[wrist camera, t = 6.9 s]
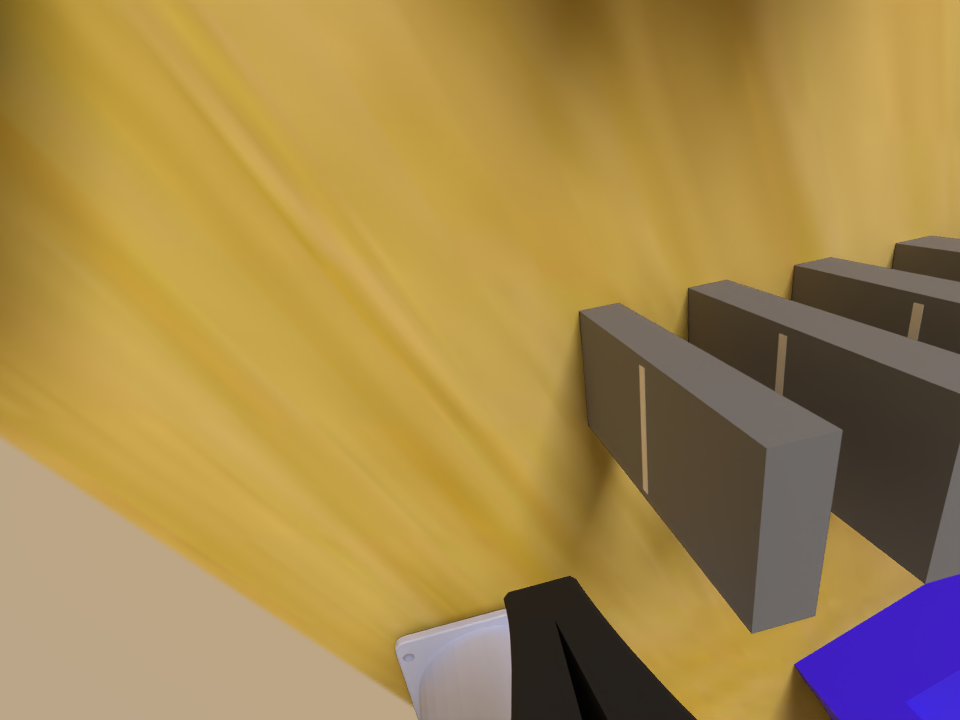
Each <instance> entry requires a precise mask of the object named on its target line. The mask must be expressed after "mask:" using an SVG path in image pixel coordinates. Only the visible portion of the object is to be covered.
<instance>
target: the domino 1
mask: <svg viewBox="0 0 960 720" xmlns="http://www.w3.org/2000/svg"><path fill="white" fill-rule="evenodd" d="M579 314H580V326H581V339H582V351H583V364H584V376H585V389H586V401H587V414H588V425H589V427H590V428H591V429H592V431H593V432H594V433H595V434H596V436H597V437H598V438H599V439H600V441H601V442H602V443H603V445H604V446H605V447H606V448H607V450H608V451H609V452H610V454H611V455H612V456H613V457H614V459H615V460H616V461H617V462H618V464H619V465H620V466H621V468H622V469H623V470H624V471H625V473H626V474H627V475H628V477H629V478H630V479H631V480H632V482H633V483H634V484H635V485H636V487H637V488H638V489H639V491H640V492H641V493H642V494H643V496H644V497H645V498H646V500H647V501H648V502H649V503H650V505H651V506H652V507H653V508H654V510H655V511H656V512H657V514H658V515H659V516H660V517H661V519H662V520H663V521H664V523H665V524H666V525H667V526H668V528H669V529H670V530H671V531H672V533H673V534H674V535H675V537H676V538H677V539H678V540H679V542H680V543H681V544H682V546H683V547H684V548H685V549H686V551H687V552H688V553H689V554H690V556H691V557H692V558H693V560H694V561H695V562H696V563H697V565H698V566H699V567H700V569H701V570H702V571H703V572H704V574H705V575H706V576H707V577H708V579H709V580H710V581H711V583H712V584H713V585H714V586H715V588H716V589H717V590H718V591H719V593H720V594H721V595H722V597H723V598H724V599H725V600H726V602H727V603H728V604H729V606H730V607H731V608H732V609H733V611H734V612H735V613H736V614H737V616H738V617H739V618H740V620H741V621H742V622H743V623H744V625H745V626H746V627H747V629H748V630H749V631H750V632H751V634H753V633H756V632H760V631H763V630H767V629H771V628H774V627H778V626H781V625H785V624H788V623H792V622H795V621H799V620H802V619H806V618H809V617H813V616H815V614H816V607H817V600H818V594H819V587H820V580H821V574H822V567H823V560H824V553H825V547H826V540H827V533H828V526H829V520H830V513H831V506H832V499H833V493H834V486H835V479H836V473H837V466H838V459H839V452H840V446H841V439H842V432H843V430H842V429H840V428H838V427H837V426H835V425H833V424H831V423H830V422H828V421H826V420H824V419H823V418H821V417H819V416H817V415H815V414H814V413H812V412H810V411H808V410H807V409H805V408H803V407H801V406H800V405H798V404H796V403H794V402H793V401H791V400H789V399H787V398H786V397H784V396H782V395H780V394H779V393H777V392H775V391H773V390H772V389H770V388H768V387H766V386H765V385H763V384H761V383H759V382H757V381H756V380H754V379H752V378H750V377H749V376H747V375H745V374H743V373H742V372H740V371H738V370H736V369H735V368H733V367H731V366H729V365H728V364H726V363H724V362H722V361H721V360H719V359H717V358H715V357H714V356H712V355H710V354H708V353H707V352H705V351H703V350H701V349H699V348H698V347H696V346H694V345H692V344H691V343H689V342H687V341H685V340H684V339H682V338H680V337H678V336H677V335H675V334H673V333H671V332H670V331H668V330H666V329H664V328H663V327H661V326H659V325H657V324H656V323H654V322H652V321H650V320H649V319H647V318H645V317H643V316H641V315H640V314H638V313H636V312H634V311H633V310H631V309H629V308H627V307H626V306H624V305H622V304H620V303H616V304H611V305H607V306H602V307H597V308H592V309H587V310H582V311H579Z"/></svg>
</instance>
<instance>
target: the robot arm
mask: <svg viewBox="0 0 960 720" xmlns="http://www.w3.org/2000/svg"><path fill="white" fill-rule="evenodd" d="M504 602H505V607H506V608H505V609H501V610H498V611H494V612H490V613H487V614H483V615H479V616H476V617H472V618H468V619H464V620H461V621H457V622H453V623H450V624H446V625H442V626H439V627H435V628H431V629H428V630H424V631H420V632H417V633H413V634H409V635H406V636H403V637H400V638H399V639H398V640H397V641H396V643H395V649H396V655H397V658H398V661H399V664H400V667H401V670H402V673H403V676H404V679H405V682H406V685H407V688H408V691H409V694H410V697H411V700H412V703H413V706H414V709H415V712H416V715H417V718H418V720H697V719H696V718H695V717H694V716H693V715H692V714H691V713H690V712H689V711H688V710H687V709H686V708H685V707H684V706H683V705H682V704H681V703H680V702H679V701H678V700H677V699H676V698H675V697H674V696H673V695H672V694H671V693H670V692H669V691H668V690H667V688H666V687H665V686H664V685H663V684H662V683H661V682H660V681H659V680H658V679H657V678H656V677H655V675H654V674H653V673H652V672H651V671H650V670H649V669H648V668H647V667H646V665H645V664H644V663H643V662H642V661H641V660H640V659H639V658H638V657H637V656H636V654H635V653H634V652H633V651H632V650H631V649H630V648H629V646H628V645H627V644H626V643H625V642H624V641H623V640H622V638H621V637H620V636H619V635H618V634H617V632H616V631H615V630H614V629H613V627H612V626H611V625H610V624H609V623H608V621H607V620H606V619H605V618H604V616H603V615H602V614H601V613H600V611H599V610H598V609H597V607H596V606H595V605H594V604H593V602H592V601H591V600H590V598H589V597H588V595H587V594H586V593H585V591H584V590H583V589H582V587H581V586H580V584H579V583H578V581H577V580H576V579H575V578H573V577H571V576H568V577H564V578H560V579H557V580H553V581H549V582H545V583H542V584H538V585H534V586H530V587H527V588H523V589H519V590H515V591H512V592H509V593H508V594H507V595H506V596H505V597H504Z"/></svg>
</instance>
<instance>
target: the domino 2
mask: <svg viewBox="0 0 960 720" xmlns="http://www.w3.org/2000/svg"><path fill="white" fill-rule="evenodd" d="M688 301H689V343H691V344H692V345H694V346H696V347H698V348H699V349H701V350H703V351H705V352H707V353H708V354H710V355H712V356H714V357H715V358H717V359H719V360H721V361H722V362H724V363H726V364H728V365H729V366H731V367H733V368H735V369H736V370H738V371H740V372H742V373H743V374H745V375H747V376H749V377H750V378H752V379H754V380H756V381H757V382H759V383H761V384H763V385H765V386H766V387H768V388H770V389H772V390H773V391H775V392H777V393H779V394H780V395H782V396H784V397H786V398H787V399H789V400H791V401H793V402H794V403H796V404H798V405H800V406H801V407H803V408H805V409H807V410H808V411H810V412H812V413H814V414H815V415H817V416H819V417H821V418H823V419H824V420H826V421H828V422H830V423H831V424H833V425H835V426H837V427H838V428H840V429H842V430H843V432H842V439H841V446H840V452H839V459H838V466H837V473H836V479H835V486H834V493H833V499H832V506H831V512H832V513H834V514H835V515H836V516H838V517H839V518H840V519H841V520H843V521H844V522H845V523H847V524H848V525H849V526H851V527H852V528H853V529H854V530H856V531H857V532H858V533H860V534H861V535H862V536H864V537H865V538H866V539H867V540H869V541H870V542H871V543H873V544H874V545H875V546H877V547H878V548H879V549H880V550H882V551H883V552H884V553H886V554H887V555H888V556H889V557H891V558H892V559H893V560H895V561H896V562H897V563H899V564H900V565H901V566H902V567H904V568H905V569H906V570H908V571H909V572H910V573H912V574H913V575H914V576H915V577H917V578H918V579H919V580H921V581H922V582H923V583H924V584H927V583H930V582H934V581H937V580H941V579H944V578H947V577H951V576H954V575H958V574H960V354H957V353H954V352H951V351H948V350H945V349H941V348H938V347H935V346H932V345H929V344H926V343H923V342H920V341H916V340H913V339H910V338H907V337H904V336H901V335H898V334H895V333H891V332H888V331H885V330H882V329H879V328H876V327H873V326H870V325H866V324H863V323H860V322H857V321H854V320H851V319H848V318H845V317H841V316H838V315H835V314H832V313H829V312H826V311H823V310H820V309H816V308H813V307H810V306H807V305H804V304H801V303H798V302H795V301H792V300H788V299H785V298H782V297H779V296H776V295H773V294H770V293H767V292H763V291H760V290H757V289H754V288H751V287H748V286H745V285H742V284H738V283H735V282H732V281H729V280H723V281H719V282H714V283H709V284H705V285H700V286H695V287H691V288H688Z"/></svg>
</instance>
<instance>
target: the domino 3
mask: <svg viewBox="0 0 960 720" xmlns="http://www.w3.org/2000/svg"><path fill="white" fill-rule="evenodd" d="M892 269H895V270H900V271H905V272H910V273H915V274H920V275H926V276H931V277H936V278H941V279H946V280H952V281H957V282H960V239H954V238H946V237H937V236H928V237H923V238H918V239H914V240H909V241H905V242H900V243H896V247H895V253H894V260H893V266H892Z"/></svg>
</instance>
